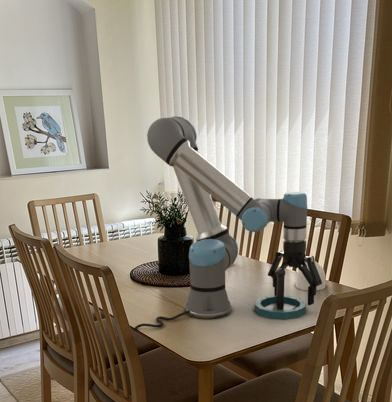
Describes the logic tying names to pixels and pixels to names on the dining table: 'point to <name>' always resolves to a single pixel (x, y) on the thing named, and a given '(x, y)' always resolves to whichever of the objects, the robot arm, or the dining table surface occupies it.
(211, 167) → the robot arm
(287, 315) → the ring
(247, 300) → the dining table surface
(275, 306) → the ring holder
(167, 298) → the dining table surface
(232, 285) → the dining table surface
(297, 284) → the teardrop
